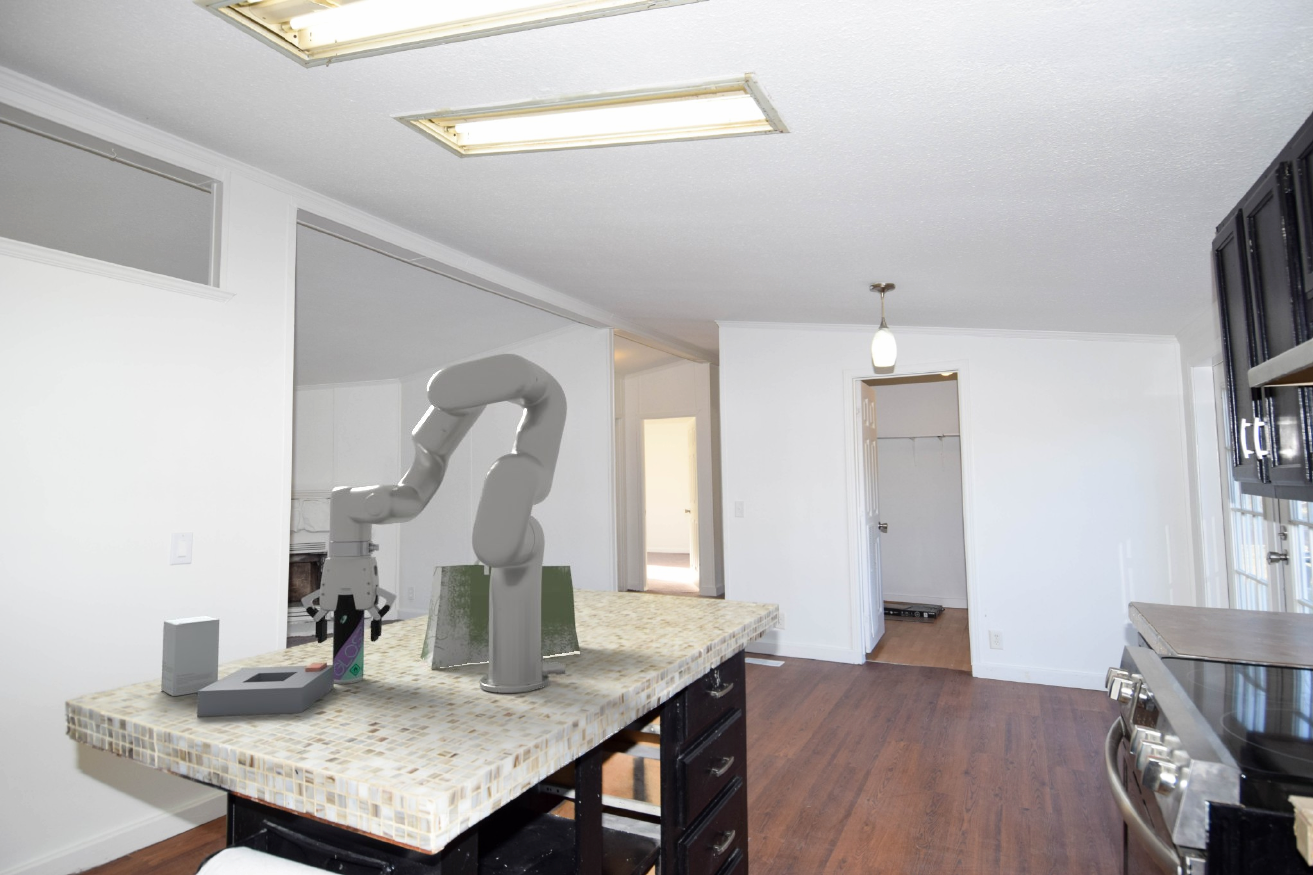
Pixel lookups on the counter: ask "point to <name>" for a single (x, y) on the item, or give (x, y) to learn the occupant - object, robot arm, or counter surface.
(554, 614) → the grocery bag
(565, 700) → the counter surface
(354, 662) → the spray can
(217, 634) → the supplement box
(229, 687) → the socket plate
